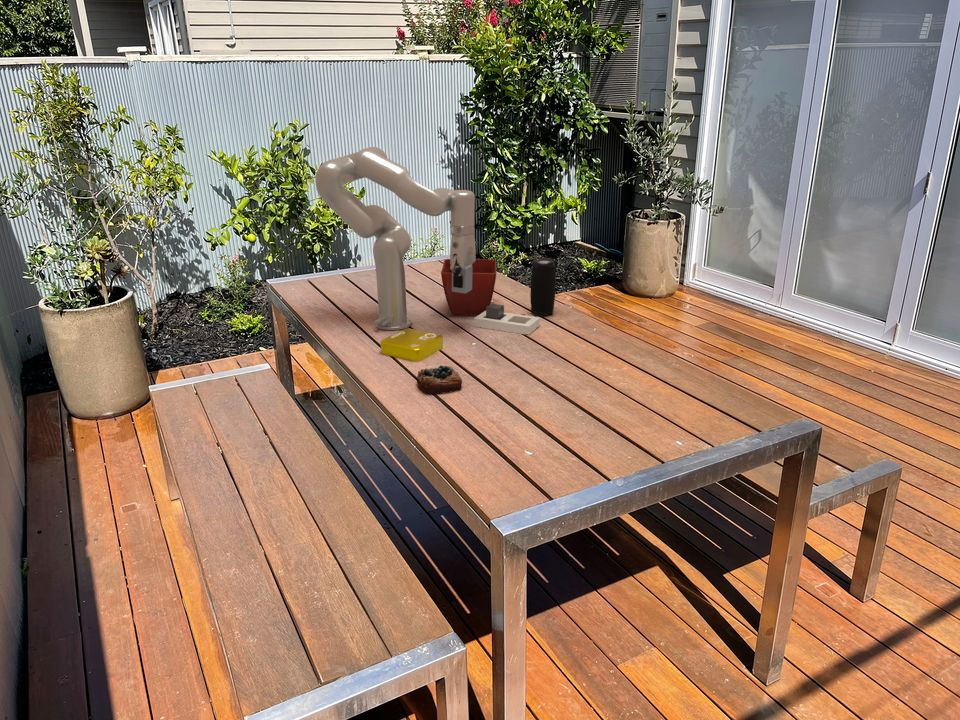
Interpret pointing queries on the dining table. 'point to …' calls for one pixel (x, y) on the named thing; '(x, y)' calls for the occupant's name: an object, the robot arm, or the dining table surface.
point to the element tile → (411, 344)
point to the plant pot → (481, 288)
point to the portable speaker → (543, 286)
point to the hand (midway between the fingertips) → (461, 284)
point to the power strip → (506, 320)
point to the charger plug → (464, 280)
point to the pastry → (438, 380)
